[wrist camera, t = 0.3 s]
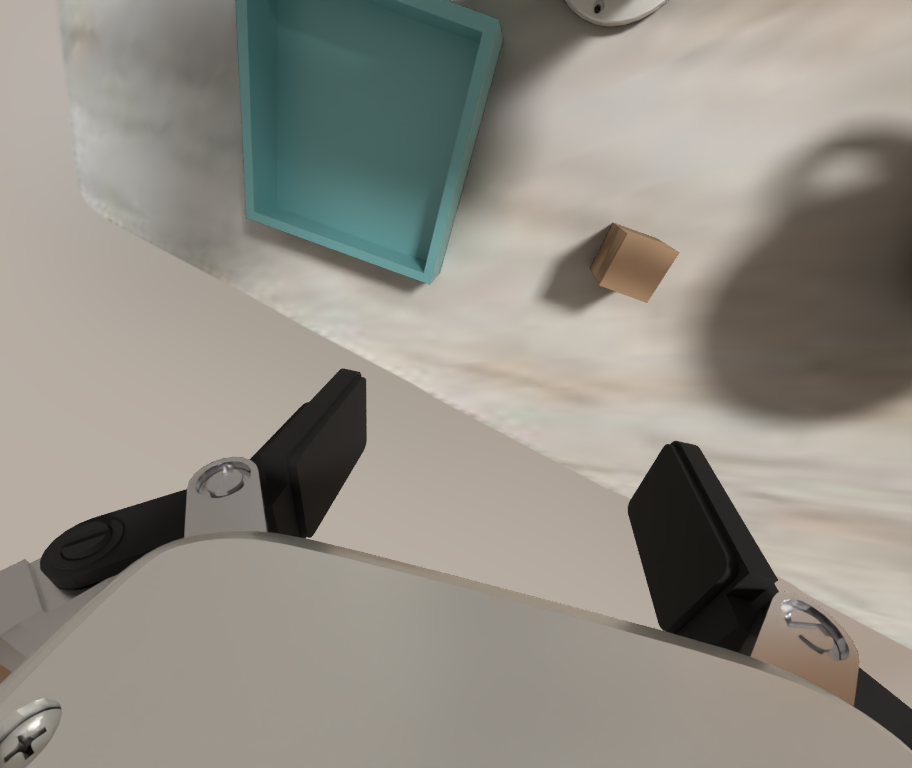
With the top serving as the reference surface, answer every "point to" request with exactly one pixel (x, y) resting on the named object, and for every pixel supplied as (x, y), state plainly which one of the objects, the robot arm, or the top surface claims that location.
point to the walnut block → (632, 262)
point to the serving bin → (363, 121)
